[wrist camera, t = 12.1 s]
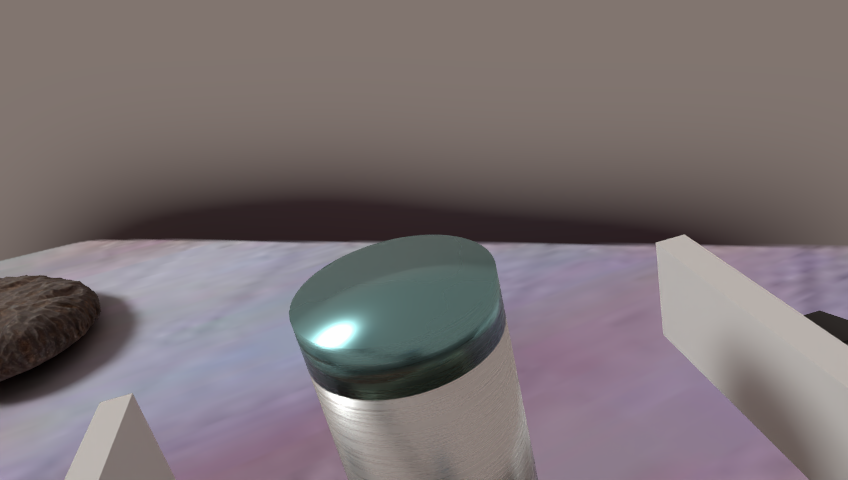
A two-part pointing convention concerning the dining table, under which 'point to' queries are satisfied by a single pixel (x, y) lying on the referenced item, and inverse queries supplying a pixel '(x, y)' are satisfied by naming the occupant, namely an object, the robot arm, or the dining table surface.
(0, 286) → the decorative stone
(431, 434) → the silver cylinder
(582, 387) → the dining table surface
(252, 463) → the dining table surface
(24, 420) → the dining table surface
